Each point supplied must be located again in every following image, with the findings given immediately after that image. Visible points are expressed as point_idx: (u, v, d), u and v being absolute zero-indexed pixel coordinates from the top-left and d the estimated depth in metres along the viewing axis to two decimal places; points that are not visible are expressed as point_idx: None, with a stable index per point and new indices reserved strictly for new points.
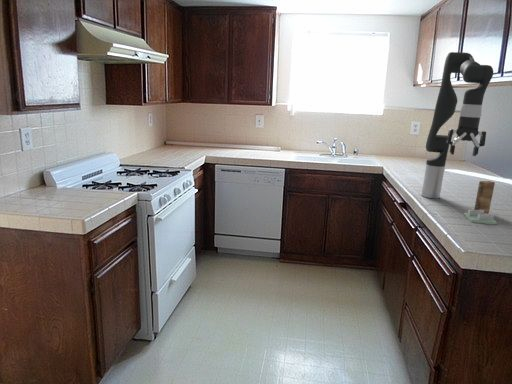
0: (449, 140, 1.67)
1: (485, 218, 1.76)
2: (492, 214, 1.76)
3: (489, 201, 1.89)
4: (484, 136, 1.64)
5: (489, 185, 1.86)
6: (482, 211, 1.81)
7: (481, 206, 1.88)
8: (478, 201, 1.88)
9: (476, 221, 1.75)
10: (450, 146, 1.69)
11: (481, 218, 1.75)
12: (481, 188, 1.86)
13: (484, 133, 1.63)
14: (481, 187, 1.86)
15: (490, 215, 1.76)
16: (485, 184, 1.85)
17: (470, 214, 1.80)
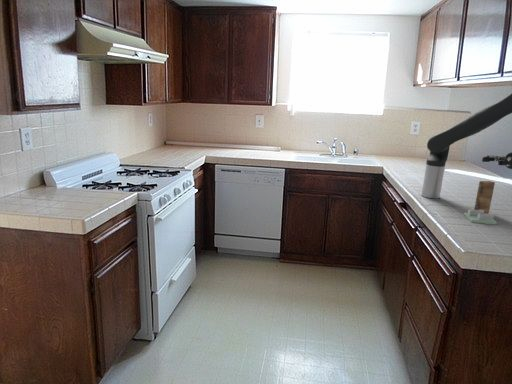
0: None
1: (485, 218, 1.76)
2: (492, 214, 1.76)
3: (489, 201, 1.89)
4: (493, 161, 1.85)
5: (489, 185, 1.86)
6: (482, 211, 1.81)
7: (481, 206, 1.88)
8: (478, 201, 1.88)
9: (476, 221, 1.75)
10: (507, 161, 1.72)
11: (481, 218, 1.75)
12: (481, 188, 1.86)
13: (495, 161, 1.85)
14: (481, 187, 1.86)
15: (490, 215, 1.76)
16: (485, 184, 1.85)
17: (470, 214, 1.80)
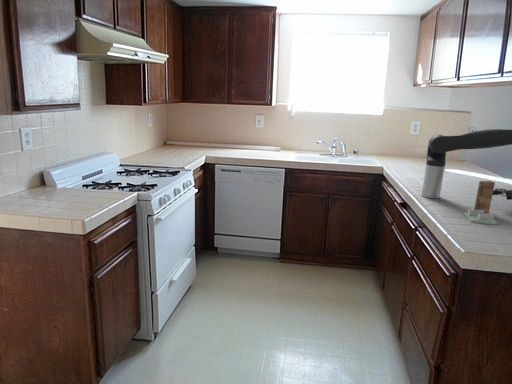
0: None
1: (485, 218, 1.76)
2: (492, 214, 1.76)
3: (489, 201, 1.89)
4: None
5: (489, 185, 1.86)
6: (482, 211, 1.81)
7: (481, 206, 1.88)
8: (478, 201, 1.88)
9: (476, 221, 1.75)
10: None
11: (481, 218, 1.75)
12: (481, 188, 1.86)
13: None
14: (481, 187, 1.86)
15: (490, 215, 1.76)
16: (485, 184, 1.85)
17: (470, 214, 1.80)
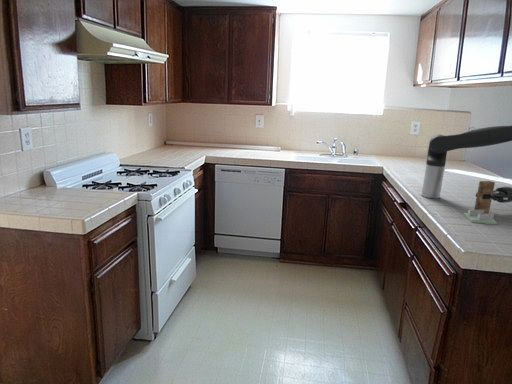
0: None
1: (485, 218, 1.76)
2: (492, 214, 1.76)
3: (489, 201, 1.89)
4: None
5: (489, 185, 1.86)
6: (482, 211, 1.81)
7: (481, 206, 1.88)
8: (478, 201, 1.88)
9: (476, 221, 1.75)
10: (490, 196, 1.86)
11: (481, 218, 1.75)
12: (481, 188, 1.86)
13: None
14: (481, 187, 1.86)
15: (490, 215, 1.76)
16: (485, 184, 1.85)
17: (470, 214, 1.80)
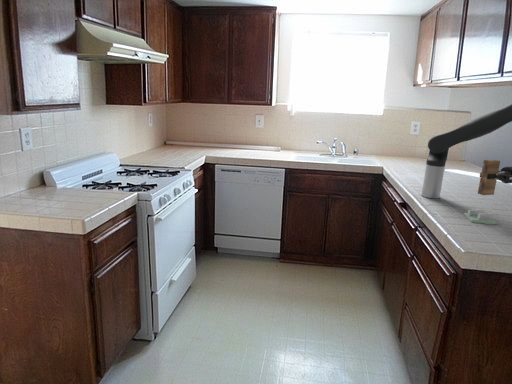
0: None
1: (485, 218, 1.76)
2: (492, 214, 1.76)
3: (494, 181, 1.75)
4: None
5: (494, 164, 1.73)
6: (482, 211, 1.81)
7: (486, 187, 1.74)
8: (482, 181, 1.75)
9: (476, 221, 1.75)
10: (495, 175, 1.73)
11: (481, 218, 1.75)
12: (486, 167, 1.73)
13: None
14: (486, 166, 1.73)
15: (490, 215, 1.76)
16: (490, 163, 1.72)
17: (470, 214, 1.80)
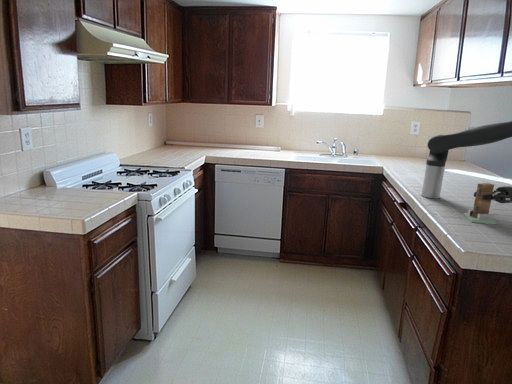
0: None
1: (485, 218, 1.76)
2: (492, 214, 1.76)
3: (488, 205, 1.77)
4: None
5: (488, 188, 1.74)
6: None
7: (480, 210, 1.76)
8: (476, 205, 1.77)
9: (476, 221, 1.75)
10: (492, 196, 1.73)
11: (481, 218, 1.75)
12: (480, 191, 1.74)
13: None
14: (480, 190, 1.74)
15: (490, 215, 1.76)
16: (484, 187, 1.73)
17: (470, 214, 1.80)
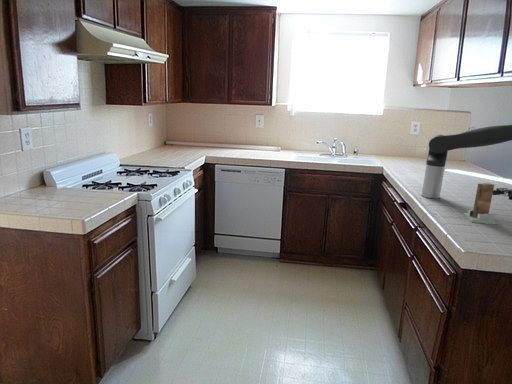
0: None
1: (485, 218, 1.76)
2: (492, 214, 1.76)
3: (488, 205, 1.77)
4: None
5: (488, 188, 1.74)
6: None
7: (480, 210, 1.76)
8: (477, 205, 1.77)
9: (476, 221, 1.75)
10: None
11: (481, 218, 1.75)
12: (480, 191, 1.74)
13: None
14: (480, 190, 1.74)
15: (490, 215, 1.76)
16: (484, 187, 1.73)
17: (470, 214, 1.80)
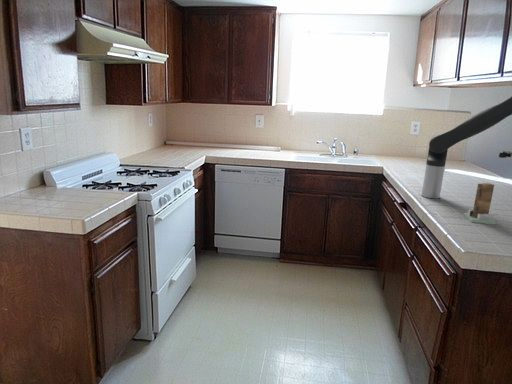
0: None
1: (485, 218, 1.76)
2: (492, 214, 1.76)
3: (488, 205, 1.77)
4: (509, 156, 1.86)
5: (488, 188, 1.74)
6: None
7: (480, 210, 1.76)
8: (477, 205, 1.77)
9: (476, 221, 1.75)
10: None
11: (481, 218, 1.75)
12: (480, 191, 1.74)
13: None
14: (480, 190, 1.74)
15: (490, 215, 1.76)
16: (484, 187, 1.73)
17: (470, 214, 1.80)
